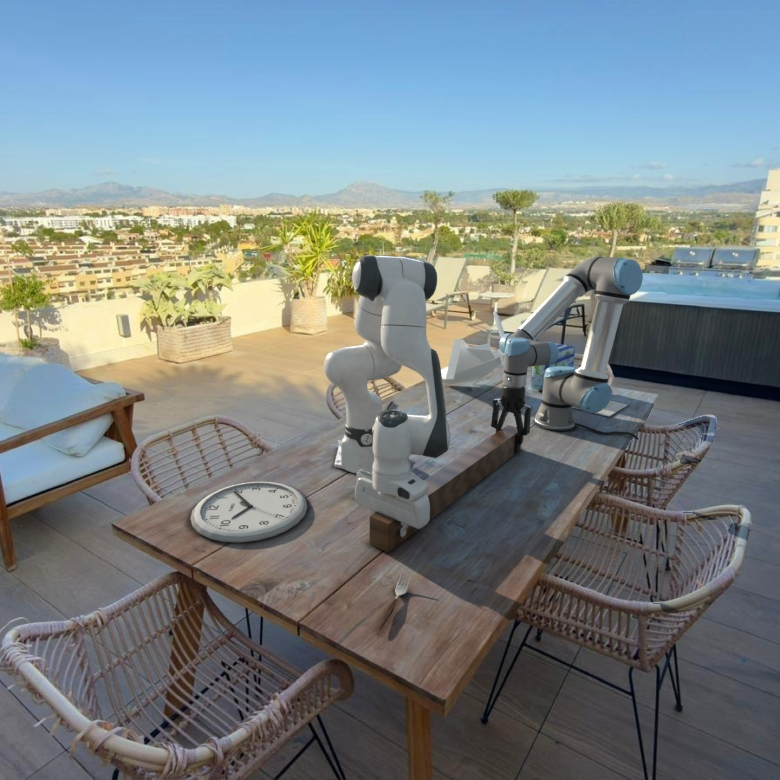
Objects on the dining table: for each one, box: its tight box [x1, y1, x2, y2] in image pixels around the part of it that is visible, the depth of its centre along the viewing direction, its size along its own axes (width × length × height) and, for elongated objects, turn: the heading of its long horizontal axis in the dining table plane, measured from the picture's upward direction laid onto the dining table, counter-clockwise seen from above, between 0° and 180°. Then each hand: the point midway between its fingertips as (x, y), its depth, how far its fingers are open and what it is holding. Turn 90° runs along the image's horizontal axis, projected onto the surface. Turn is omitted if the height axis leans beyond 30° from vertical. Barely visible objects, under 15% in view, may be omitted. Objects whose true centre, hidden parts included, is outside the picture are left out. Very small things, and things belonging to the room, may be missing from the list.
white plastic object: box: [441, 310, 531, 397], centre depth 245 cm, size 37×45×31 cm
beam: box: [369, 424, 522, 553], centre depth 152 cm, size 77×6×8 cm, turn 143°
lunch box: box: [530, 343, 576, 391], centre depth 249 cm, size 26×11×21 cm, turn 134°
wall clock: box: [190, 481, 308, 544], centre depth 139 cm, size 30×2×30 cm
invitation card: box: [573, 400, 629, 418], centre depth 226 cm, size 21×1×15 cm
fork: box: [379, 571, 412, 631], centre depth 105 cm, size 3×16×2 cm, turn 160°
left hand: (390, 530), depth 127 cm, fingers closed on beam, 5 cm apart
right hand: (508, 449), depth 179 cm, fingers closed on beam, 6 cm apart
